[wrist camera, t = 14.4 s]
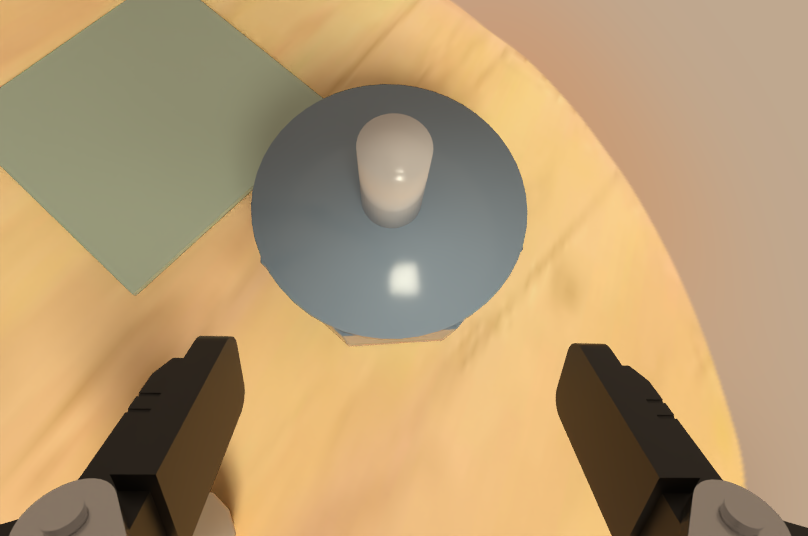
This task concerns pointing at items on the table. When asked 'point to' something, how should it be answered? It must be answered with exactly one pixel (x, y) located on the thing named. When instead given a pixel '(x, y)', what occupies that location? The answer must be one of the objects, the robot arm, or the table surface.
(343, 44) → the table surface
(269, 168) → the food cover
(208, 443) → the robot arm
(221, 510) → the salt shaker
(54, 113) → the rubber mat
